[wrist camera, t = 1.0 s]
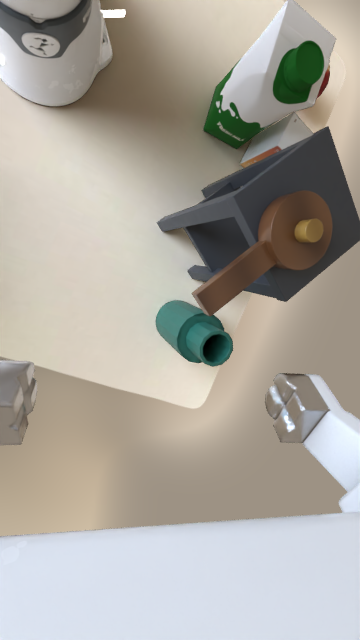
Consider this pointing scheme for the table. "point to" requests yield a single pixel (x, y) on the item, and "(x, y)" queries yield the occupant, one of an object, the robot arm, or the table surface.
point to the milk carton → (272, 77)
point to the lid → (273, 247)
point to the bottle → (194, 333)
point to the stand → (250, 203)
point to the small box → (276, 139)
